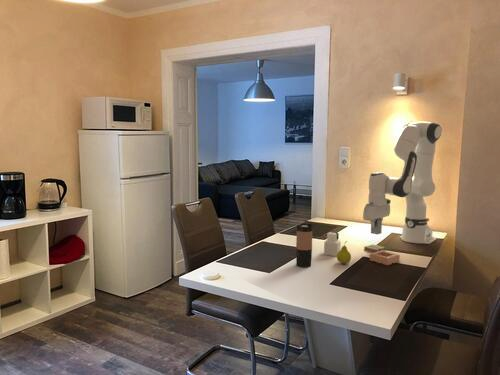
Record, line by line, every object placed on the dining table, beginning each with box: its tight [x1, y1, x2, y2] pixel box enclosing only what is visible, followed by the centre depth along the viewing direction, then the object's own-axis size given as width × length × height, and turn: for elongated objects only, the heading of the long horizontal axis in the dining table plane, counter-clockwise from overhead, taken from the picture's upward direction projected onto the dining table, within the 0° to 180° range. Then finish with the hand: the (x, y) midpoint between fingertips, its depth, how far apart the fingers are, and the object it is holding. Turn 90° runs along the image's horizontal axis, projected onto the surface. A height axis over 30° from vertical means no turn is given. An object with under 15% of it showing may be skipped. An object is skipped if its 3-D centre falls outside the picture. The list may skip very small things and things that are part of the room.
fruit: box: [336, 240, 352, 265], centre depth 200 cm, size 7×7×12 cm
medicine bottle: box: [323, 231, 342, 257], centre depth 216 cm, size 7×7×12 cm
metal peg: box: [370, 219, 383, 235], centre depth 222 cm, size 4×4×8 cm
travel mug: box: [295, 223, 313, 268], centre depth 196 cm, size 8×8×20 cm
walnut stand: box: [363, 244, 386, 253], centre depth 224 cm, size 8×8×2 cm
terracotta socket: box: [369, 250, 401, 266], centre depth 205 cm, size 10×10×4 cm
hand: (376, 226), depth 222 cm, fingers closed on metal peg, 4 cm apart
